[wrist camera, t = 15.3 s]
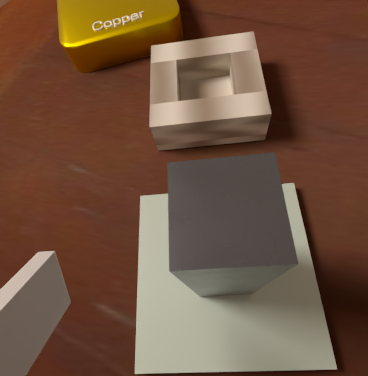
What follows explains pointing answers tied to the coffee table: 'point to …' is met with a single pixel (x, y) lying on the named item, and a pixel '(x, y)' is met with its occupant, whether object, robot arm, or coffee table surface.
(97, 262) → the coffee table surface
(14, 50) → the coffee table surface
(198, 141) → the socket block
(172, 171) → the peg
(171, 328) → the plate
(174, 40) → the element tile
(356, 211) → the coffee table surface
